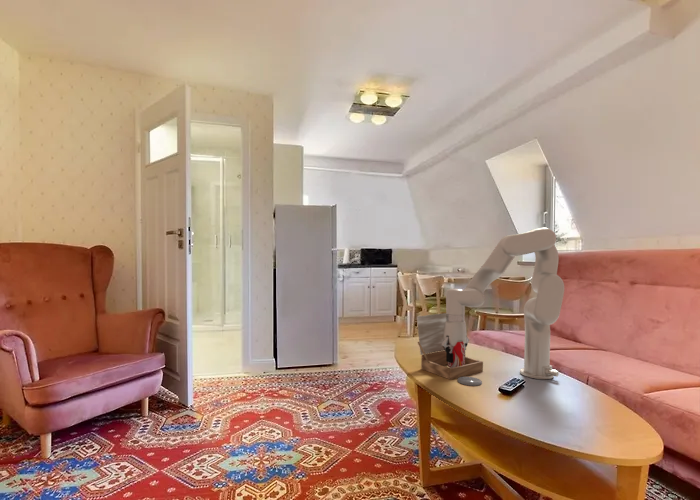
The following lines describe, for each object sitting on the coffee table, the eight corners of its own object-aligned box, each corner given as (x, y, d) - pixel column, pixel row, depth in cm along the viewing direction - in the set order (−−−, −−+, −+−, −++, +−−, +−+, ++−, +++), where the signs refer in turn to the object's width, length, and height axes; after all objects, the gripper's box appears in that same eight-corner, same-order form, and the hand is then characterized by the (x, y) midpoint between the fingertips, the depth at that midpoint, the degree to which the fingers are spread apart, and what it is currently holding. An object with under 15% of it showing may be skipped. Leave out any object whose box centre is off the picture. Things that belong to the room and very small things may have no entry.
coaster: (486, 383, 156) (486, 381, 156) (471, 387, 151) (471, 385, 151) (467, 376, 164) (467, 375, 164) (452, 380, 159) (452, 379, 159)
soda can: (461, 371, 167) (460, 342, 167) (444, 368, 171) (444, 340, 171) (467, 367, 172) (467, 339, 172) (451, 364, 177) (451, 337, 176)
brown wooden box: (482, 371, 172) (483, 319, 171) (448, 379, 160) (449, 324, 159) (447, 360, 188) (448, 312, 187) (413, 367, 175) (414, 316, 175)
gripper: (462, 314, 179) (462, 355, 180) (434, 319, 169) (434, 362, 170) (476, 317, 173) (476, 359, 173) (448, 321, 163) (448, 366, 163)
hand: (455, 360), depth 172 cm, fingers closed on soda can, 6 cm apart
